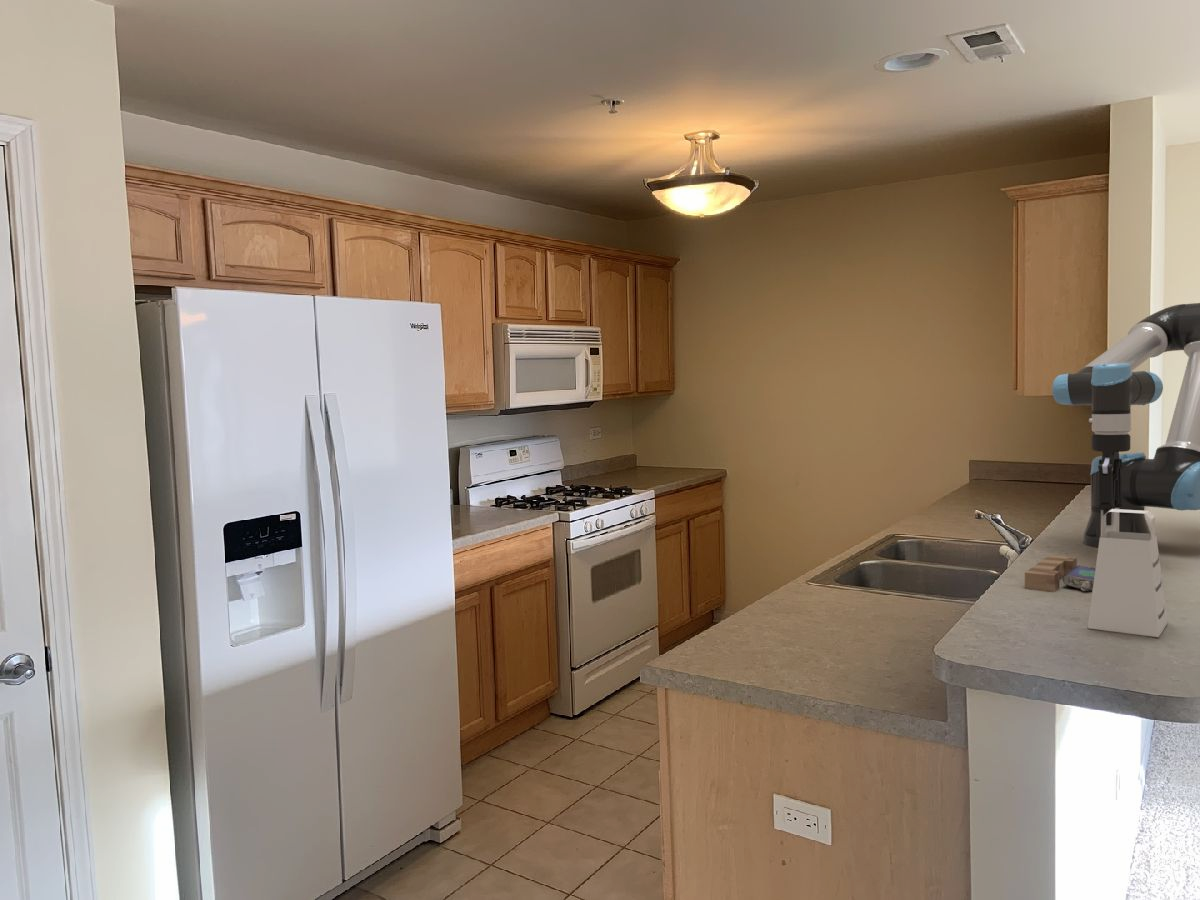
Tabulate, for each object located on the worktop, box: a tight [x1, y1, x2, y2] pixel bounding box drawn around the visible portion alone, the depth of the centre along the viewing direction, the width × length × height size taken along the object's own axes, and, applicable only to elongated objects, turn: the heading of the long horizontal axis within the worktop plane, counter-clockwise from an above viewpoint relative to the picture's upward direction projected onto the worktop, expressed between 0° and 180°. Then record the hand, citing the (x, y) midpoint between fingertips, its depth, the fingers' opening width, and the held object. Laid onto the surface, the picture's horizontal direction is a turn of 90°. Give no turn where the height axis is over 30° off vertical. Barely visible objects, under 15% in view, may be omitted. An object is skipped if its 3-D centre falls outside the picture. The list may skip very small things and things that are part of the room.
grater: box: [1087, 509, 1168, 638], centre depth 153 cm, size 10×10×20 cm
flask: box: [1062, 564, 1096, 592], centre depth 181 cm, size 9×3×11 cm
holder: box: [1024, 555, 1078, 593], centre depth 184 cm, size 21×21×4 cm
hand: (1109, 537), depth 198 cm, fingers open, 4 cm apart
